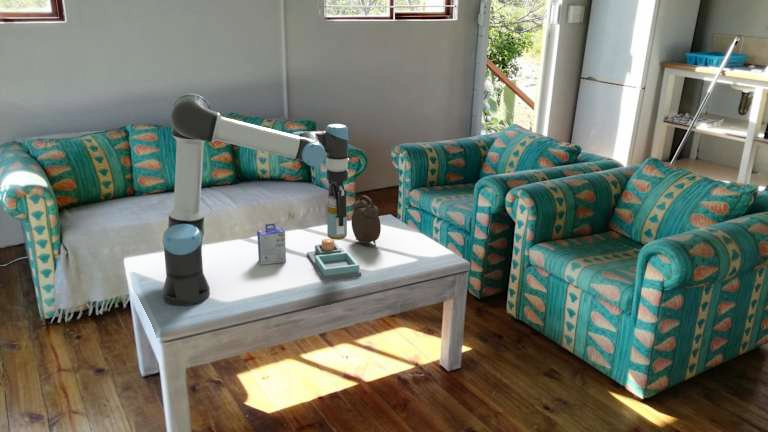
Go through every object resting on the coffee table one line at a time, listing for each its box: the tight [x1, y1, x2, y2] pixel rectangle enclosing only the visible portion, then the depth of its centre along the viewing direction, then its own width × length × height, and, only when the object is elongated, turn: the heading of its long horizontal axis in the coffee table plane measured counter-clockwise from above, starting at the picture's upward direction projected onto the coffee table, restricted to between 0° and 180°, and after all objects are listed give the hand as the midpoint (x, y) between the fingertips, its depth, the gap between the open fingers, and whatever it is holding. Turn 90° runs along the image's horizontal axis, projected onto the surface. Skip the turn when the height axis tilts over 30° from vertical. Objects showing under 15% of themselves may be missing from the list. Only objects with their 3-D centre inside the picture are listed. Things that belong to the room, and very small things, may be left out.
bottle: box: [326, 195, 348, 241], centre depth 239 cm, size 7×7×15 cm
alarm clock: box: [351, 194, 382, 247], centre depth 268 cm, size 14×7×20 cm, turn 32°
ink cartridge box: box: [256, 223, 287, 266], centre depth 249 cm, size 10×6×14 cm, turn 112°
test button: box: [321, 238, 335, 251], centre depth 254 cm, size 5×5×5 cm
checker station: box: [306, 242, 362, 281], centre depth 249 cm, size 14×24×4 cm, turn 21°
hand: (337, 230), depth 240 cm, fingers closed on bottle, 7 cm apart
